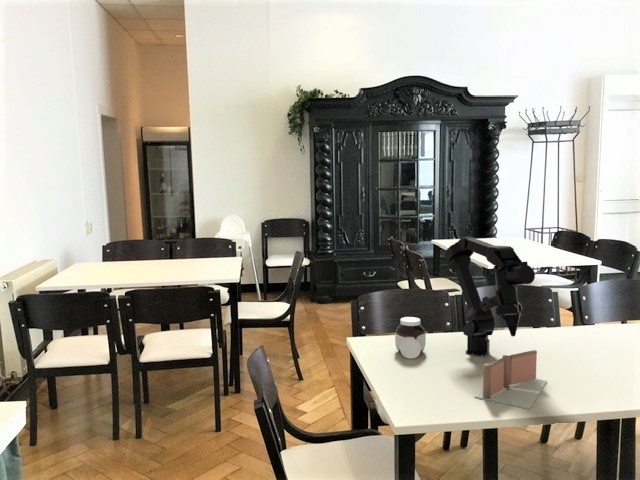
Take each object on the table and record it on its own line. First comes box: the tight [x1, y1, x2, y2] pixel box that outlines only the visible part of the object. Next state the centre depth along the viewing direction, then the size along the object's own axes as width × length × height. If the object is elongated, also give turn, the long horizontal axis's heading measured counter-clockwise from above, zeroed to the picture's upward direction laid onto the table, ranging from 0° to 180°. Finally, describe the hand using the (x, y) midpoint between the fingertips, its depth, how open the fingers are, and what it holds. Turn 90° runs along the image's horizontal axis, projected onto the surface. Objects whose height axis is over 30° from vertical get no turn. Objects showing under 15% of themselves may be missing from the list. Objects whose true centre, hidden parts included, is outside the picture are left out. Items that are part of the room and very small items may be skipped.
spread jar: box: [394, 316, 427, 360], centre depth 183 cm, size 12×11×12 cm
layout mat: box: [474, 378, 548, 410], centre depth 151 cm, size 14×22×1 cm, turn 147°
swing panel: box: [501, 349, 538, 388], centre depth 154 cm, size 13×2×9 cm, turn 117°
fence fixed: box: [482, 358, 512, 399], centre depth 149 cm, size 6×13×10 cm, turn 147°
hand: (513, 336), depth 166 cm, fingers closed
